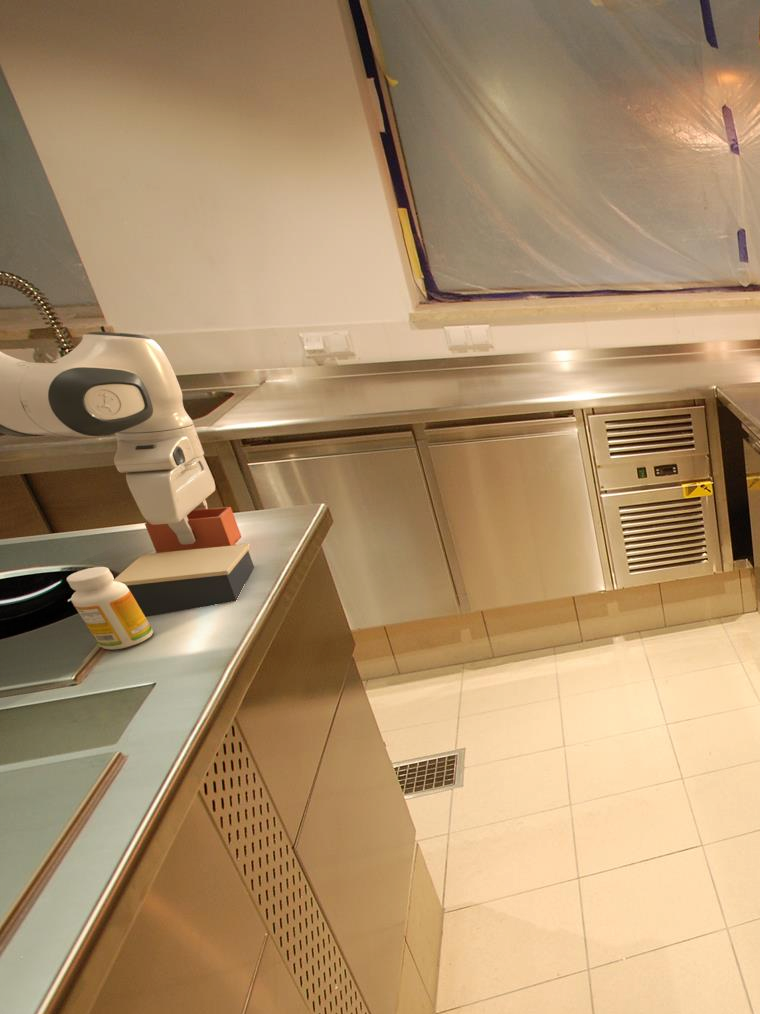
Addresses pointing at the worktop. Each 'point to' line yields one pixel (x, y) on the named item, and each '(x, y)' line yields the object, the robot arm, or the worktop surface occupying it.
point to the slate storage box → (187, 578)
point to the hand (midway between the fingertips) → (196, 536)
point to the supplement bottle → (108, 609)
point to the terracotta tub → (198, 531)
